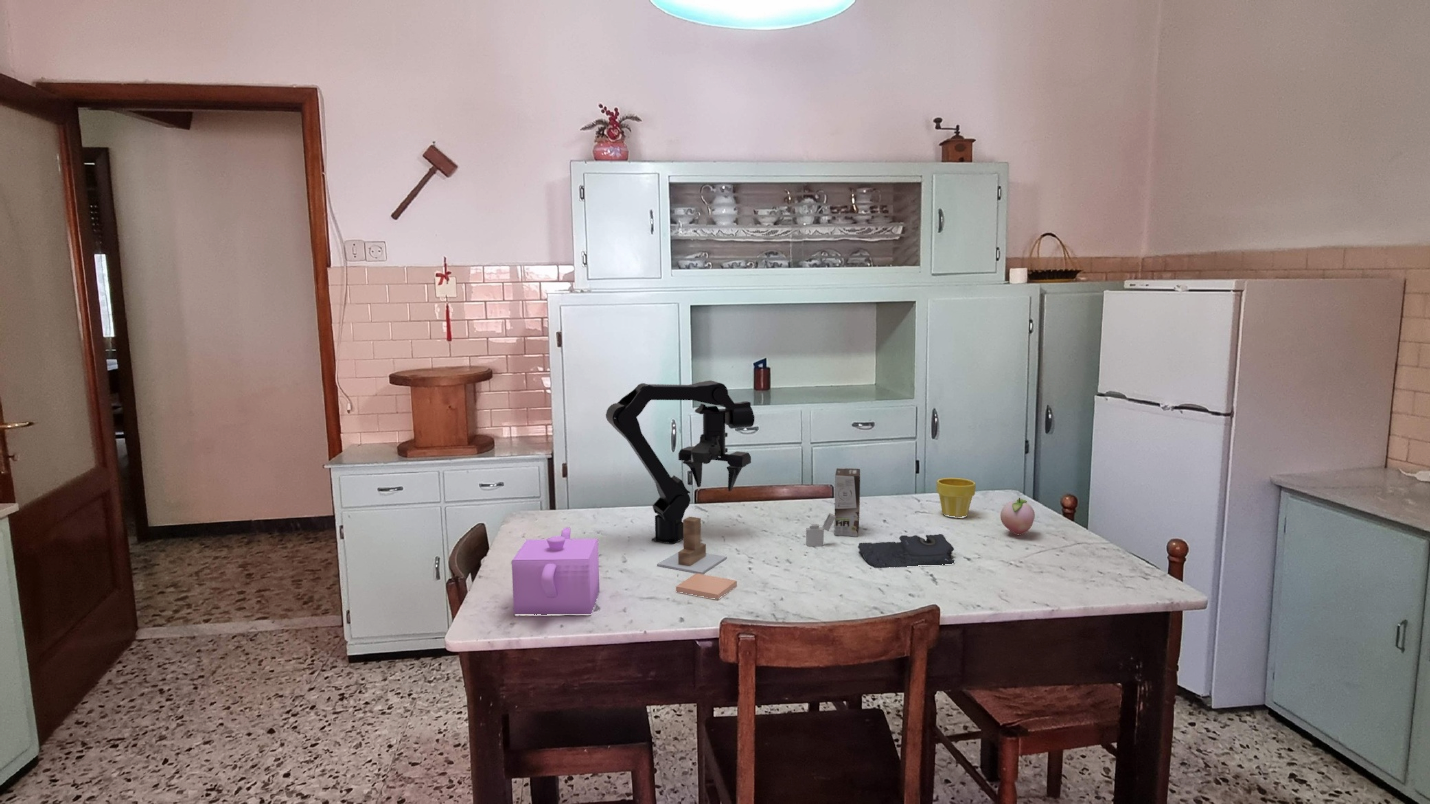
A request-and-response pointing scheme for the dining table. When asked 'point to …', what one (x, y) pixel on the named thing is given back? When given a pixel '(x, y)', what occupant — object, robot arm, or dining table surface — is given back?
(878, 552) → the dark grey folded shirt
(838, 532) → the coffee box
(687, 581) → the tile
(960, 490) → the plant pot
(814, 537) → the lighter
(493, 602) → the dining table surface
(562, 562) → the teapot
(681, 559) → the brown stepped wooden block
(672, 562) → the mat
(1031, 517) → the decorative fruit
